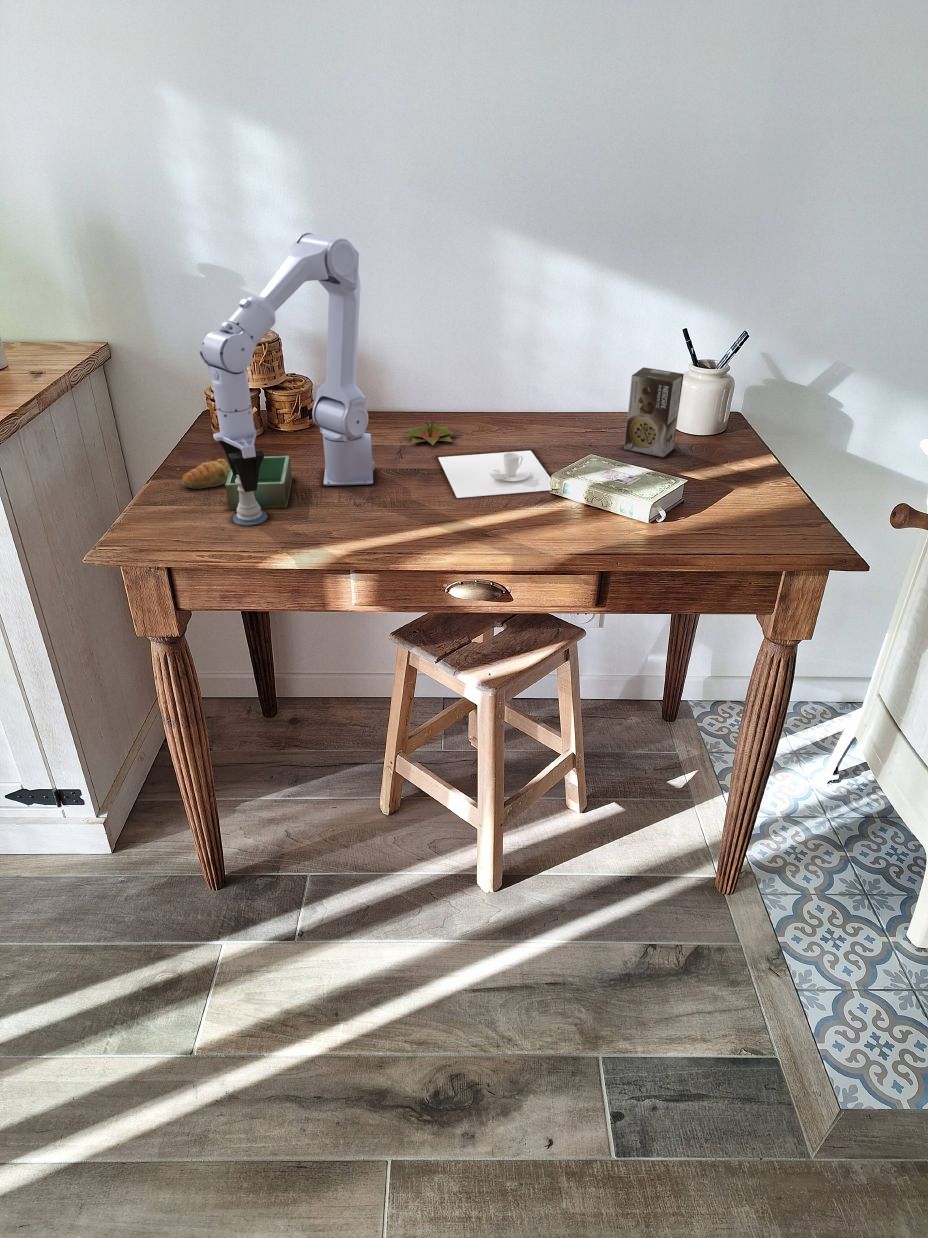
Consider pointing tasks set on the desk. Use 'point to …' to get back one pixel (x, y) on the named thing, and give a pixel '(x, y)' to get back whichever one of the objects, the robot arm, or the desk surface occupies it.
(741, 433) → the desk surface
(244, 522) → the tile coaster
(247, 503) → the rook chess piece
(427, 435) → the lily flower
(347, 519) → the desk surface
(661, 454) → the coffee box
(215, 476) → the pastry
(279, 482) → the open box
